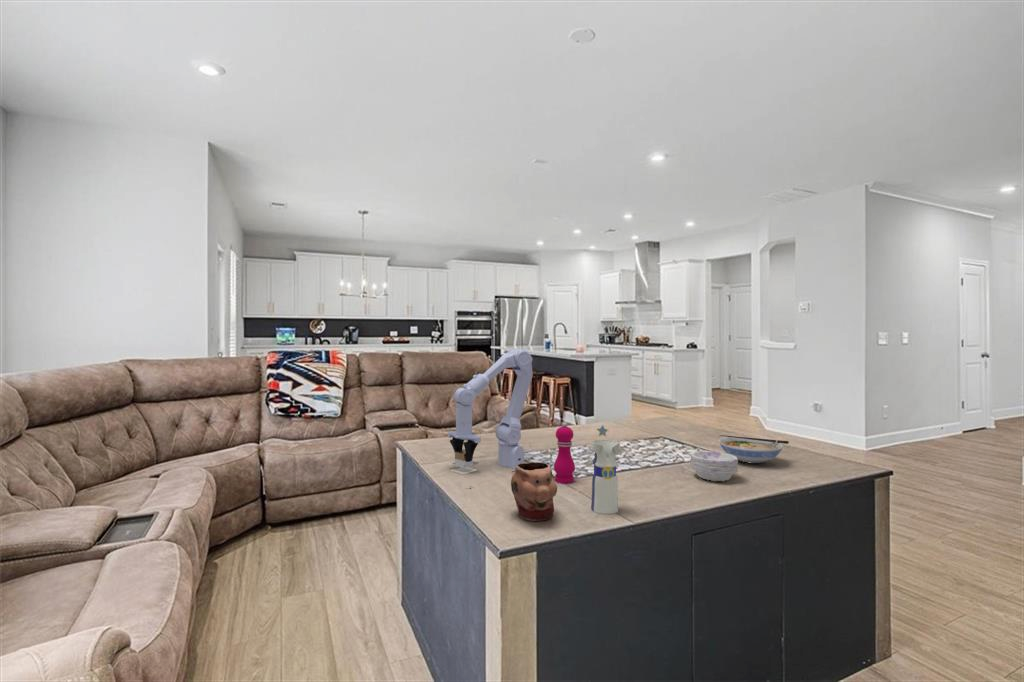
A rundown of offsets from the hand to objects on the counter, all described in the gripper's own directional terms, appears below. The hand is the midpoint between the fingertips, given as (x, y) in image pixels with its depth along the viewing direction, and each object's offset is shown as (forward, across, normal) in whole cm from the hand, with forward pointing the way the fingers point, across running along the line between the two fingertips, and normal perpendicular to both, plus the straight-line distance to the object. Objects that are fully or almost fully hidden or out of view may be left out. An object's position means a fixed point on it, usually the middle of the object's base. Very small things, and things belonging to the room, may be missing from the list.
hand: (463, 460), depth 178 cm
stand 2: (+5, 0, 0) cm, 5 cm away
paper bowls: (+5, +70, +52) cm, 87 cm away
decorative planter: (+5, +42, -15) cm, 45 cm away
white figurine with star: (+5, +56, +1) cm, 56 cm away
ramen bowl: (+5, +74, +83) cm, 111 cm away
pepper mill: (+5, +32, +16) cm, 36 cm away
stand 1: (+5, -6, +7) cm, 10 cm away
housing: (+2, 0, 0) cm, 2 cm away
